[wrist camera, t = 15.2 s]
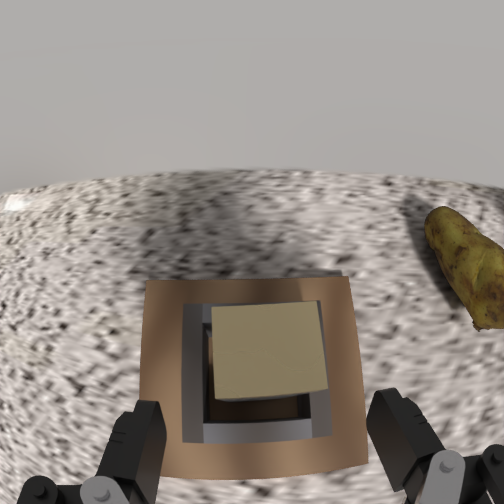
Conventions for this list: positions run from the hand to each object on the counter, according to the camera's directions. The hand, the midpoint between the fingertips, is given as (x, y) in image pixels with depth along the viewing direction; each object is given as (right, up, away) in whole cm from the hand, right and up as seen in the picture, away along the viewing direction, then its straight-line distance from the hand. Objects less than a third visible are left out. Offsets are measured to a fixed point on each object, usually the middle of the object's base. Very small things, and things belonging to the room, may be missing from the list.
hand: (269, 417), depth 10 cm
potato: (+19, +3, +15) cm, 25 cm away
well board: (-1, -3, +11) cm, 11 cm away
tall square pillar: (-1, -3, +10) cm, 10 cm away
